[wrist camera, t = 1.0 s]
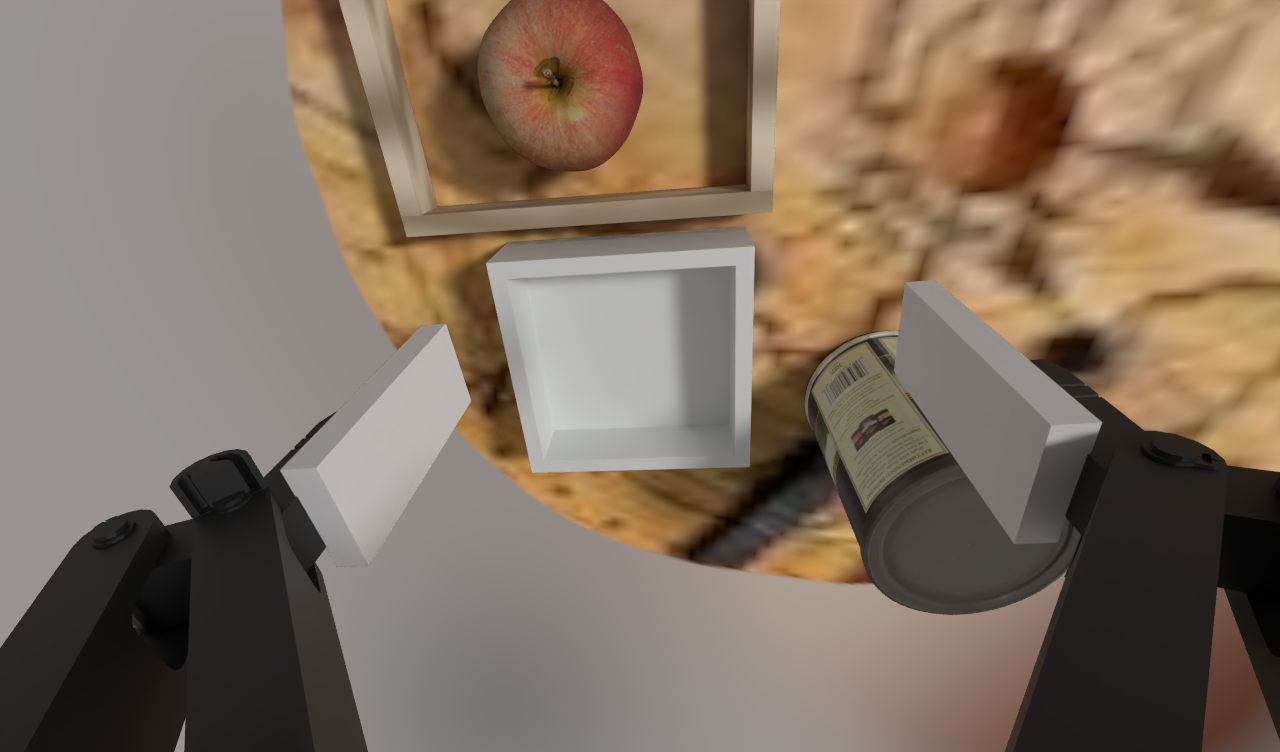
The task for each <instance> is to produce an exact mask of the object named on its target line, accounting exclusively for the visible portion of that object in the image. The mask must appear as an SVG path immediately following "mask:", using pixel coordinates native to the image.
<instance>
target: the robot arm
mask: <svg viewBox="0 0 1280 752" xmlns="http://www.w3.org/2000/svg"><path fill="white" fill-rule="evenodd" d="M894 372H895V373H896V375H897V376H898V377H899V379H900V380H901V382H902V383H903V385H904V386H905V388H906V389H907V390H908V392H909V393H910V395H911V396H912V398H913V399H914V401H915V402H916V403H917V405H918V406H919V408H920V409H921V411H922V412H923V414H924V415H925V416H926V418H927V419H928V421H929V422H930V424H931V425H932V426H933V428H934V429H935V431H936V432H937V434H938V435H939V437H940V438H941V439H942V441H943V442H944V444H945V445H946V447H947V448H948V450H949V451H950V452H951V454H952V455H953V457H954V458H955V460H956V461H957V463H958V464H959V465H960V467H961V468H962V470H963V471H964V473H965V474H966V475H967V477H968V478H969V480H970V481H971V483H972V484H973V486H974V487H975V488H976V490H977V491H978V493H979V494H980V496H981V497H982V499H983V500H984V501H985V503H986V504H987V506H988V507H989V509H990V510H991V512H992V513H993V514H994V516H995V517H996V519H997V520H998V522H999V523H1000V524H1001V526H1002V527H1003V529H1004V530H1005V532H1006V533H1007V535H1008V536H1009V537H1010V539H1011V540H1012V542H1013V543H1014V544H1030V543H1058V541H1059V538H1060V535H1061V532H1062V530H1063V527H1064V524H1065V522H1066V519H1068V520H1069V521H1070V522H1071V524H1072V525H1073V526H1074V527H1075V528H1076V530H1077V531H1078V532H1079V533H1080V534H1081V537H1080V539H1079V542H1078V544H1077V547H1076V549H1075V552H1074V554H1073V557H1072V560H1071V562H1070V565H1069V567H1068V570H1067V572H1066V575H1065V581H1064V584H1063V587H1062V590H1061V592H1060V595H1059V598H1058V601H1057V604H1056V607H1055V609H1054V612H1053V615H1052V618H1051V621H1050V624H1049V627H1048V630H1047V632H1046V635H1045V638H1044V641H1043V644H1042V647H1041V650H1040V652H1039V656H1038V658H1037V661H1036V664H1035V667H1034V669H1033V672H1032V675H1031V678H1030V681H1029V684H1028V687H1027V689H1026V692H1025V695H1024V698H1023V701H1022V704H1021V707H1020V709H1019V712H1018V715H1017V718H1016V721H1015V724H1014V727H1013V729H1012V732H1011V735H1010V738H1009V741H1008V744H1007V747H1006V749H1005V752H1201V751H1202V740H1203V730H1204V719H1205V709H1206V698H1207V688H1208V677H1209V667H1210V657H1211V646H1212V636H1213V625H1214V615H1215V605H1216V594H1217V587H1219V588H1224V590H1225V592H1226V595H1227V598H1228V600H1229V603H1230V606H1231V609H1232V612H1233V614H1234V617H1235V620H1236V622H1237V625H1238V628H1239V630H1240V633H1241V636H1242V639H1243V641H1244V644H1245V647H1246V650H1247V652H1248V655H1249V658H1250V660H1251V663H1252V666H1253V669H1254V671H1255V674H1256V677H1257V679H1258V682H1259V685H1260V688H1261V690H1262V693H1263V695H1264V698H1265V701H1266V704H1267V707H1268V709H1269V712H1270V714H1271V717H1272V720H1273V723H1274V726H1275V728H1276V731H1277V734H1278V737H1279V739H1280V472H1274V471H1266V470H1258V469H1251V468H1243V467H1235V466H1227V465H1226V462H1225V460H1224V459H1223V458H1222V457H1221V456H1219V455H1218V454H1217V453H1216V452H1215V451H1214V450H1212V449H1210V448H1208V447H1206V446H1204V445H1202V444H1201V443H1199V442H1197V441H1194V440H1191V439H1188V438H1185V437H1182V436H1179V435H1176V434H1171V433H1165V432H1159V431H1144V430H1143V429H1141V428H1140V427H1139V426H1138V425H1136V424H1135V423H1134V422H1133V421H1131V420H1130V419H1129V418H1128V417H1126V416H1125V415H1124V414H1123V413H1121V412H1120V411H1119V410H1117V409H1116V408H1115V407H1114V406H1112V405H1111V404H1110V403H1109V402H1107V401H1106V400H1105V399H1104V398H1102V397H1098V394H1097V393H1096V392H1095V391H1093V390H1092V389H1091V388H1090V387H1088V386H1085V385H1084V383H1083V382H1082V381H1081V380H1080V379H1078V378H1077V377H1076V376H1075V375H1073V374H1072V373H1071V372H1070V371H1068V370H1067V369H1064V368H1062V367H1060V366H1057V365H1055V364H1053V363H1051V362H1048V361H1046V360H1044V359H1037V360H1028V359H1027V358H1026V357H1025V356H1024V355H1022V354H1021V353H1020V352H1019V351H1018V350H1017V349H1015V348H1014V347H1013V346H1012V345H1011V344H1010V343H1008V342H1007V341H1006V340H1005V339H1004V338H1003V337H1001V336H1000V335H999V334H998V333H997V332H995V331H994V330H993V329H992V328H991V327H990V326H988V325H987V324H986V323H985V322H984V321H983V320H981V319H980V318H979V317H978V316H977V315H976V314H974V313H973V312H972V311H971V310H970V309H969V308H967V307H966V306H965V305H964V304H963V303H961V302H960V301H959V300H958V299H957V298H956V297H954V296H953V295H952V294H951V293H950V292H949V291H947V290H946V289H945V288H944V287H943V286H942V285H940V284H939V283H938V282H937V281H936V280H930V281H918V282H907V283H905V289H904V296H903V304H902V312H901V320H900V327H899V335H898V343H897V351H896V358H895V366H894ZM470 402H471V399H470V396H469V393H468V390H467V387H466V384H465V381H464V378H463V374H462V371H461V368H460V365H459V362H458V359H457V356H456V353H455V350H454V347H453V344H452V341H451V338H450V335H449V332H448V329H447V326H446V324H436V325H425V326H421V327H420V328H419V329H418V330H417V331H416V332H415V333H414V334H413V335H412V336H411V337H410V338H409V339H408V340H407V341H406V342H405V343H404V344H403V345H402V346H401V347H400V348H399V349H398V350H397V351H396V353H394V354H393V355H392V356H391V357H390V359H388V360H387V362H386V363H385V364H384V365H383V366H382V367H381V368H380V369H379V370H378V371H377V372H376V373H375V374H374V375H373V376H372V377H371V378H370V379H369V380H368V381H367V382H366V383H365V384H364V385H363V386H362V387H361V388H360V389H359V390H358V391H357V392H356V393H355V394H354V395H353V396H352V397H351V398H350V399H349V400H348V401H347V402H346V403H345V404H344V405H343V406H342V407H341V408H340V409H339V411H337V412H335V413H333V414H332V415H331V416H329V417H327V418H326V419H324V420H322V421H321V422H319V423H318V424H317V425H316V426H315V427H314V428H313V429H312V430H311V431H310V432H309V433H308V434H307V435H306V438H305V439H302V440H301V441H300V442H299V443H298V444H297V445H296V446H295V449H294V450H291V451H290V452H289V453H288V454H287V455H286V456H285V457H284V458H283V459H282V460H281V461H280V462H279V463H278V464H277V465H276V466H275V467H274V468H273V469H272V470H271V471H270V472H269V473H268V474H267V475H266V476H265V477H264V478H263V476H262V474H261V473H260V471H259V469H258V468H257V466H256V465H255V463H254V461H253V460H252V458H251V456H250V455H249V454H248V452H247V451H245V450H239V449H235V450H228V451H223V452H220V453H217V454H213V455H210V456H208V457H206V458H204V459H202V460H199V461H197V462H195V463H194V464H192V465H191V466H189V467H187V468H186V469H184V470H183V471H182V472H181V473H179V474H178V475H177V476H176V477H175V478H174V479H173V481H172V483H171V485H170V488H171V490H172V491H173V492H174V494H175V495H176V496H177V498H178V499H179V501H180V502H181V503H182V505H183V506H184V507H185V509H186V510H187V512H188V513H189V514H190V516H191V517H192V518H193V519H190V520H186V521H182V522H179V523H175V524H171V525H167V526H164V525H163V523H162V522H161V521H160V520H159V518H158V517H157V515H156V514H155V513H154V512H153V511H151V510H137V511H132V512H128V513H125V514H122V515H120V516H115V517H112V518H110V519H108V520H106V522H102V523H100V524H99V525H97V526H95V527H94V529H93V530H91V531H90V532H88V533H87V534H86V535H84V536H83V537H82V538H81V539H80V540H79V541H78V542H77V543H76V544H75V545H74V546H73V547H72V548H71V550H70V551H69V553H68V554H67V555H66V557H65V558H64V560H63V561H62V562H61V564H60V565H59V567H58V568H57V570H56V571H55V572H54V574H53V575H52V576H51V578H50V579H49V581H48V582H47V583H46V585H45V586H44V588H43V589H42V590H41V592H40V593H39V595H38V596H37V597H36V599H35V600H34V602H33V603H32V605H31V606H30V607H29V609H28V610H27V612H26V613H25V614H24V616H23V617H22V618H21V620H20V621H19V623H18V624H17V625H16V627H15V628H14V630H13V631H12V632H11V634H10V635H9V637H8V638H7V639H6V641H5V642H4V644H3V645H2V646H1V648H0V752H174V751H175V748H176V745H177V742H178V739H179V736H180V733H181V730H182V726H183V724H184V721H185V718H186V722H185V750H184V752H368V750H367V746H366V742H365V739H364V734H363V731H362V727H361V723H360V719H359V715H358V711H357V707H356V703H355V700H354V696H353V692H352V688H351V684H350V680H349V676H348V672H347V669H346V665H345V661H344V657H343V653H342V649H341V645H340V641H339V638H338V634H337V630H336V626H335V622H334V618H333V614H332V610H331V607H330V603H329V599H328V595H327V591H326V587H325V583H324V580H323V576H322V573H321V571H320V570H319V568H318V566H317V565H316V563H315V562H316V560H317V559H318V557H319V556H320V555H321V553H322V552H323V550H324V549H325V548H326V550H327V551H328V553H329V554H330V557H331V558H332V560H333V562H334V563H335V565H336V567H357V566H369V565H370V564H371V562H372V561H373V559H374V557H375V556H376V554H377V552H378V551H379V549H380V548H381V546H382V544H383V543H384V541H385V539H386V538H387V536H388V535H389V533H390V531H391V530H392V528H393V527H394V525H395V523H396V522H397V520H398V518H399V517H400V515H401V514H402V512H403V510H404V509H405V507H406V506H407V504H408V502H409V501H410V499H411V498H412V496H413V494H414V493H415V491H416V489H417V488H418V486H419V485H420V483H421V481H422V480H423V478H424V476H425V475H426V473H427V471H428V470H429V468H430V467H431V465H432V464H433V462H434V460H435V459H436V457H437V455H438V454H439V452H440V451H441V449H442V447H443V446H444V444H445V442H446V441H447V439H448V438H449V436H450V434H451V433H452V431H453V430H454V428H455V426H456V425H457V423H458V421H459V420H460V418H461V417H462V415H463V413H464V412H465V410H466V409H467V407H468V405H469V404H470ZM133 626H134V627H133Z"/></svg>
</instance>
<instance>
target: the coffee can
mask: <svg viewBox="0 0 1280 752" xmlns="http://www.w3.org/2000/svg"><path fill="white" fill-rule="evenodd" d="M898 335H899V331H881V332H875V333H870V334H866V335H863V336H860V337H857V338H855V339H853V340H851V341H848V342H846V343H845V344H843V345H842V346H840V347H839V348H837V349H836V350H835V351H833V352H832V353H831V354H830V355H828V356H827V357H826V358H825V359H824V360H823V361H822V363H821V364H820V365H819V366H818V367H817V369H816V370H815V372H814V374H813V375H812V377H811V379H810V381H809V383H808V386H807V390H806V394H805V412H806V417H807V420H808V422H809V424H810V427H811V429H812V430H813V431H814V434H815V436H816V439H817V441H818V444H819V446H820V448H821V451H822V454H823V456H824V459H825V461H826V464H827V466H828V469H829V471H830V473H831V476H832V478H833V481H834V483H835V486H836V488H837V491H838V493H839V496H840V499H841V501H842V504H843V506H844V509H845V511H846V514H847V516H848V519H849V521H850V524H851V526H852V529H853V531H854V533H855V536H856V539H857V541H858V543H859V546H860V550H861V556H862V560H863V563H864V566H865V569H866V571H867V574H868V576H869V578H870V579H871V581H872V582H873V583H874V585H875V586H876V587H877V588H878V589H879V590H880V591H881V592H882V593H883V594H884V595H886V596H887V597H888V598H890V599H891V600H893V601H895V602H897V603H899V604H901V605H903V606H906V607H908V608H912V609H915V610H918V611H923V612H928V613H935V614H947V615H958V614H971V613H979V612H983V611H989V610H993V609H997V608H1001V607H1005V606H1007V605H1010V604H1013V603H1016V602H1018V601H1020V600H1023V599H1025V598H1027V597H1029V596H1031V595H1034V594H1035V593H1037V592H1039V591H1041V590H1042V589H1044V588H1046V587H1047V586H1049V585H1050V584H1051V583H1053V582H1054V581H1056V580H1057V579H1058V578H1060V577H1061V576H1062V575H1063V574H1064V573H1065V572H1066V571H1067V570H1068V567H1069V565H1070V562H1071V560H1072V557H1073V554H1074V552H1075V549H1076V547H1077V544H1078V542H1079V539H1080V537H1081V534H1080V533H1079V532H1078V531H1077V530H1076V528H1075V527H1074V526H1073V525H1072V524H1071V522H1070V521H1069V520H1068V519H1066V522H1065V524H1064V527H1063V530H1062V532H1061V535H1060V538H1059V541H1058V543H1030V544H1014V543H1013V542H1012V540H1011V539H1010V537H1009V536H1008V535H1007V533H1006V532H1005V530H1004V529H1003V527H1002V526H1001V524H1000V523H999V522H998V520H997V519H996V517H995V516H994V514H993V513H992V512H991V510H990V509H989V507H988V506H987V504H986V503H985V501H984V500H983V499H982V497H981V496H980V494H979V493H978V491H977V490H976V488H975V487H974V486H973V484H972V483H971V481H970V480H969V478H968V477H967V475H966V474H965V473H964V471H963V470H962V468H961V467H960V465H959V464H958V463H957V461H956V460H955V458H954V457H953V455H952V454H951V452H950V451H949V450H948V448H947V447H946V445H945V444H944V442H943V441H942V439H941V438H940V437H939V435H938V434H937V432H936V431H935V429H934V428H933V426H932V425H931V424H930V422H929V421H928V419H927V418H926V416H925V415H924V414H923V412H922V411H921V409H920V408H919V406H918V405H917V403H916V402H915V401H914V399H913V398H912V396H911V395H910V393H909V392H908V390H907V389H906V388H905V386H904V385H903V383H902V382H901V380H900V379H899V377H898V376H897V375H896V373H895V372H894V366H895V358H896V351H897V343H898Z"/></svg>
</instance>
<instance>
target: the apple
mask: <svg viewBox="0 0 1280 752" xmlns="http://www.w3.org/2000/svg"><path fill="white" fill-rule="evenodd" d="M478 80H479V87H480V92H481V96H482V99H483V102H484V105H485V108H486V110H487V112H488V114H489V116H490V118H491V120H492V121H493V123H494V125H495V127H496V128H497V130H498V132H499V133H500V135H501V136H502V138H503V139H504V140H505V141H506V143H507V144H508V145H509V146H510V147H511V148H512V149H513V150H515V151H516V152H517V153H518V154H520V155H521V156H522V157H524V158H525V159H527V160H528V161H530V162H532V163H534V164H536V165H538V166H541V167H544V168H548V169H554V170H562V171H585V170H589V169H592V168H595V167H597V166H599V165H601V164H603V163H604V162H606V161H607V160H608V159H610V158H611V157H612V156H613V155H614V154H615V153H616V152H617V151H618V150H619V149H620V147H621V146H622V145H623V144H624V142H625V141H626V139H627V137H628V135H629V133H630V131H631V129H632V127H633V124H634V122H635V119H636V116H637V113H638V110H639V107H640V103H641V99H642V93H643V77H642V71H641V67H640V63H639V60H638V57H637V53H636V50H635V47H634V44H633V41H632V38H631V36H630V34H629V32H628V30H627V28H626V26H625V25H624V23H623V22H622V20H621V19H620V18H619V17H618V15H617V14H616V13H615V12H614V11H613V10H612V9H611V8H610V7H609V6H608V5H607V4H606V3H605V2H604V1H603V0H511V1H510V2H509V3H508V4H507V5H506V6H505V7H504V8H503V9H502V10H501V11H500V13H499V14H498V15H497V16H496V17H495V19H494V20H493V21H492V23H491V24H490V25H489V27H488V29H487V30H486V32H485V34H484V37H483V39H482V42H481V46H480V50H479V56H478Z"/></svg>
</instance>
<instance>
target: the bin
mask: <svg viewBox="0 0 1280 752" xmlns="http://www.w3.org/2000/svg"><path fill="white" fill-rule="evenodd" d="M754 256H755V246H754V244H753V242H752V240H751V238H750V235H749V233H748V231H747V229H746V227H732V228H717V229H702V230H687V231H672V232H656V233H641V234H626V235H611V236H596V237H581V238H565V239H550V240H535V241H520V242H507V243H506V244H505V245H504V246H503V247H502V248H501V249H500V250H499V251H498V252H497V253H496V254H495V255H494V256H493V257H492V258H491V259H490V260H489V261H488V262H487V263H486V266H487V271H488V275H489V280H490V284H491V289H492V293H493V298H494V302H495V307H496V312H497V316H498V321H499V325H500V330H501V334H502V339H503V343H504V348H505V352H506V357H507V361H508V366H509V370H510V375H511V379H512V384H513V388H514V393H515V397H516V402H517V406H518V411H519V415H520V420H521V424H522V429H523V433H524V438H525V442H526V447H527V451H528V456H529V460H530V465H531V469H532V473H540V472H578V471H617V470H655V469H694V468H732V467H750V437H751V392H752V346H753V301H754Z"/></svg>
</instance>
